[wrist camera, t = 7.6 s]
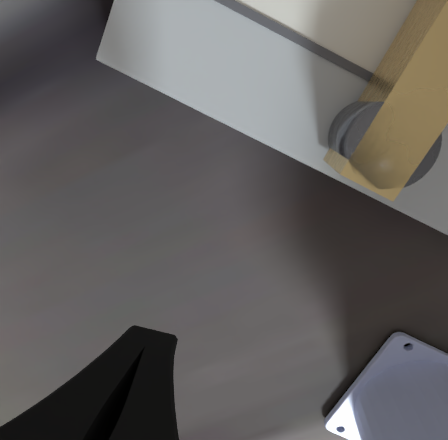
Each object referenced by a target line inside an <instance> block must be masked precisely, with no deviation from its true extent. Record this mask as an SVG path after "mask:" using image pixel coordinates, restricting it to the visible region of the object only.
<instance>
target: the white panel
mask: <svg viewBox="0 0 448 440" xmlns="http://www.w3.org/2000/svg"><path fill="white" fill-rule="evenodd" d="M416 1H417V0H114V2H113V5H112V9H111V12H110V15H109V18H108V21H107V25H106V28H105V31H104V34H103V37H102V41H101V44H100V47H99V50H98V53H97V57H96V60H98V61H100V62H102V63H104V64H106V65H108V66H110V67H112V68H114V69H116V70H118V71H120V72H122V73H124V74H126V75H128V76H130V77H132V78H134V79H136V80H138V81H140V82H142V83H144V84H146V85H148V86H150V87H152V88H154V89H156V90H158V91H160V92H162V93H164V94H166V95H168V96H170V97H172V98H174V99H176V100H178V101H180V102H182V103H184V104H186V105H188V106H190V107H192V108H194V109H196V110H198V111H200V112H202V113H204V114H206V115H208V116H210V117H212V118H214V119H216V120H218V121H220V122H222V123H224V124H226V125H228V126H230V127H232V128H234V129H236V130H238V131H240V132H242V133H244V134H246V135H248V136H250V137H252V138H254V139H256V140H258V141H260V142H262V143H264V144H266V145H268V146H270V147H272V148H274V149H276V150H278V151H280V152H282V153H284V154H286V155H288V156H290V157H292V158H294V159H296V160H298V161H300V162H302V163H304V164H306V165H308V166H310V167H312V168H314V169H316V170H318V171H320V172H322V173H324V174H326V175H328V176H330V177H332V178H334V179H336V180H338V181H340V182H342V183H344V184H346V185H348V186H350V187H352V188H354V189H356V190H358V191H360V192H362V193H364V194H366V195H368V196H370V197H372V198H374V199H376V200H378V201H380V202H382V203H384V204H386V205H388V206H390V207H392V208H394V209H396V210H398V211H400V212H402V213H404V214H406V215H408V216H410V217H412V218H414V219H416V220H418V221H420V222H422V223H424V224H426V225H428V226H430V227H432V228H434V229H436V230H438V231H440V232H442V233H444V234H446V235H448V124H447V125H446V127H445V128H444V129H443V131H442V145H441V150H440V153H439V156H438V158H437V160H436V162H435V163H434V165H433V167H432V168H431V169H430V170H429V172H428V173H427V174H426V175H425V176H424V177H422V178H421V179H420V180H418V181H417V182H415V183H414V184H412V185H409V186H407V187H404V188H402V190H401V191H400V193H399V194H398V196H397V197H396V199H395V200H394V201H393V202H392V201H390V200H389V199H387V198H385V197H383V196H381V195H379V194H377V193H375V192H373V191H371V190H369V189H367V188H365V187H363V186H361V185H359V184H357V183H356V182H354V181H352V180H350V179H348V178H346V177H344V176H342V175H340V174H339V173H338V172H336V171H335V170H334V169H333V168H332V167H331V166H330V165H328V164H327V163H326V162H325V161H324V160H323V159H324V157H325V155H326V153H327V152H328V150H329V146H328V133H329V129H330V126H331V124H332V122H333V120H334V118H335V117H336V115H337V114H338V113H339V112H340V111H341V110H342V109H343V108H345V107H346V106H347V105H349V104H351V103H353V102H356V101H358V99H359V98H360V96H361V94H362V93H363V91H364V89H365V88H366V86H367V84H368V82H369V81H370V79H371V77H372V76H373V74H374V72H375V71H376V69H377V67H378V66H379V64H380V62H381V60H382V59H383V57H384V55H385V54H386V52H387V50H388V49H389V47H390V45H391V44H392V42H393V40H394V39H395V37H396V35H397V33H398V32H399V30H400V28H401V27H402V25H403V23H404V22H405V20H406V18H407V17H408V15H409V13H410V11H411V10H412V8H413V6H414V5H415V3H416Z"/></svg>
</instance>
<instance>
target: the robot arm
mask: <svg viewBox="0 0 448 440" xmlns="http://www.w3.org/2000/svg"><path fill="white" fill-rule="evenodd" d="M177 340H178V339H177V338H176V336H175V335H172V334H168V333H164V332H160V331H156V330H152V329H147V328H143V327H139V326H135V325H134V326H132V327H130V328H129V329H128V330H127V331H126V332H125V333H124V334H123V335H122V336H121V337H120V338H119V339H118V340H117V341H116V342H114V343H113V344H112V345H111V346H110V347H109V348H108V349H107V350H106V351H104V352H103V353H102V354H101V355H100V356H99V357H97V358H96V359H95V360H94V361H93V362H91V363H90V364H89V365H88V366H87V367H85V368H84V369H83V370H82V371H80V372H79V373H78V374H77V375H75V376H74V377H73V378H71V379H70V380H69V381H67V382H66V383H65V384H63V385H62V386H61V387H59V388H58V389H57V390H55V391H54V392H53V393H51V394H50V395H49V396H47V397H46V398H44V399H43V400H41V401H40V402H38V403H37V404H36V405H34V406H33V407H31V408H30V409H28V410H26V411H25V412H23V413H22V414H20V415H19V416H17V417H16V418H14V419H12V420H11V421H9V422H8V423H6V424H4V425H3V426H1V427H0V440H179V437H178V430H177V422H176V413H175V402H174V384H173V366H174V355H175V350H176V345H177ZM407 343H410V345H408V346H404V345H405V344H407ZM324 424H325V427H326V429H327V430H329V431H331V432H333V433H335V434H338V435H340V436H342V437H344V438H347V439H349V440H448V354H447V353H445V352H443V351H441V350H439V349H437V348H435V347H433V346H430V345H428V344H426V343H424V342H422V341H420V340H418V339H416V338H414V337H411V336H409V335H407V334H405V333H402V332H396V333H393V334H392V335H391V336H390V337H389V338H388V340H387V341H386V342H385V343H384V345H383V346H382V347H381V348H380V350H379V351H378V352H377V353H376V355H375V356H374V357H373V358H372V360H371V361H370V362H369V363H368V365H367V366H366V367H365V369H364V370H363V371H362V372H361V374H360V375H359V376H358V377H357V379H356V380H355V381H354V382H353V384H352V385H351V386H350V387H349V389H348V390H347V391H346V393H345V394H344V395H343V396H342V398H341V399H340V400H339V401H338V403H337V404H336V405H335V406H334V408H333V409H332V410H331V411H330V413H329V414H328V415H327V417H326V418H325V420H324ZM338 426H341V427H338Z"/></svg>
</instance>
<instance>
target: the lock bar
mask: <svg viewBox="0 0 448 440" xmlns="http://www.w3.org/2000/svg"><path fill="white" fill-rule="evenodd" d="M447 124H448V0H417V1H416V3H415V5H414V6H413V8H412V10H411V11H410V13H409V15H408V17H407V18H406V20H405V22H404V23H403V25H402V27H401V28H400V30H399V32H398V33H397V35H396V37H395V39H394V40H393V42H392V44H391V45H390V47H389V49H388V50H387V52H386V54H385V55H384V57H383V59H382V60H381V62H380V64H379V66H378V67H377V69H376V71H375V72H374V74H373V76H372V77H371V79H370V81H369V82H368V84H367V86H366V88H365V89H364V91H363V93H362V94H361V96H360V98H359V99H358V101H356V102H353V103H351V104H349V105H347V106H346V107H345V108H343V109H342V110H341V111H340V112H339V113H338V114H337V115H336V117H335V118H334V120H333V122H332V124H331V126H330V129H329V133H328V146H329V150H328V152H327V153H326V155H325V157H324V159H323V160H324V161H325V162H326V163H327V164H328V165H330V166H331V167H332V168H333V169H334V170H335V171H336V172H338V173H339V174H340V175H342V176H344V177H346V178H348V179H350V180H352V181H354V182H356V183H357V184H359V185H361V186H363V187H365V188H367V189H369V190H371V191H373V192H375V193H377V194H379V195H381V196H383V197H385V198H387V199H389V200H390V201H392V202H393V201H394V200H395V199H396V197H397V196H398V194H399V193H400V191H401V190H402V188H404V187H407V186H409V185H412V184H414V183H415V182H417V181H418V180H420V179H421V178H422V177H424V176H425V175H426V174H427V173H428V172H429V170H430V169H431V168H432V167H433V165H434V163H435V162H436V160H437V158H438V156H439V153H440V150H441V145H442V131H443V129H444V128H445V127H446V125H447Z"/></svg>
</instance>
